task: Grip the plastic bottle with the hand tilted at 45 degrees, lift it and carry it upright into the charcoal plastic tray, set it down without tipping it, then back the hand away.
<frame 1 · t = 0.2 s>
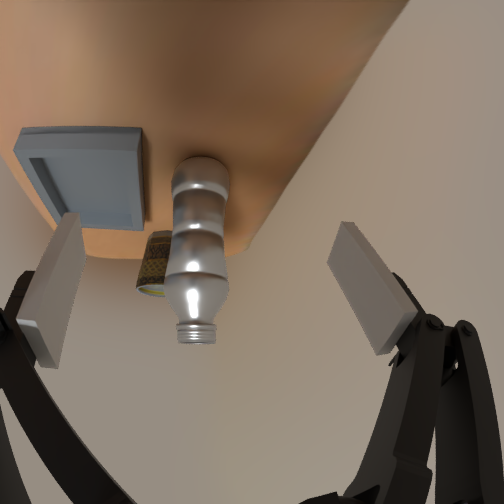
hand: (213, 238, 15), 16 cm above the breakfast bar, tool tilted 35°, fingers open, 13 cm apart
ceramic cup: (174, 235, 57), on the breakfast bar
tray: (91, 176, 37), on the breakfast bar
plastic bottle: (201, 164, 37), on the breakfast bar
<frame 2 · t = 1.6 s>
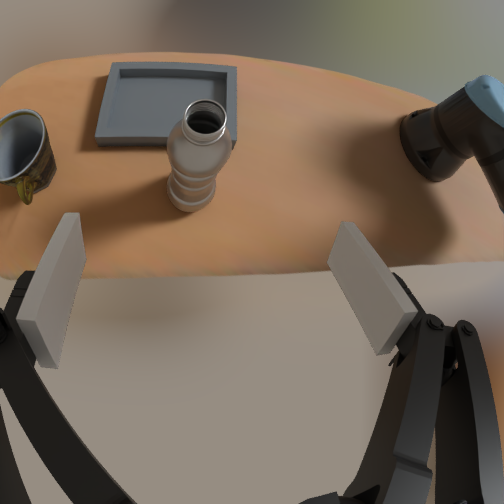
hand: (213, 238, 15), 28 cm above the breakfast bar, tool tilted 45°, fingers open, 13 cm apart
ceramic cup: (40, 180, 39), on the breakfast bar
tray: (168, 107, 45), on the breakfast bar
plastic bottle: (190, 192, 44), on the breakfast bar
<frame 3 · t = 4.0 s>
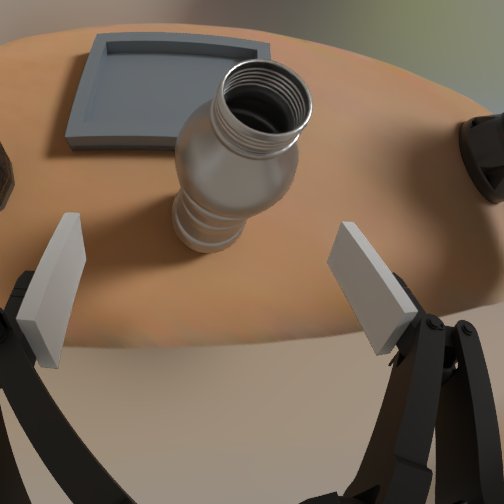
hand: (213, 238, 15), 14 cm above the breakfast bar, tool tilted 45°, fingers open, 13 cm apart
tray: (174, 94, 31), on the breakfast bar
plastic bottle: (205, 221, 30), on the breakfast bar
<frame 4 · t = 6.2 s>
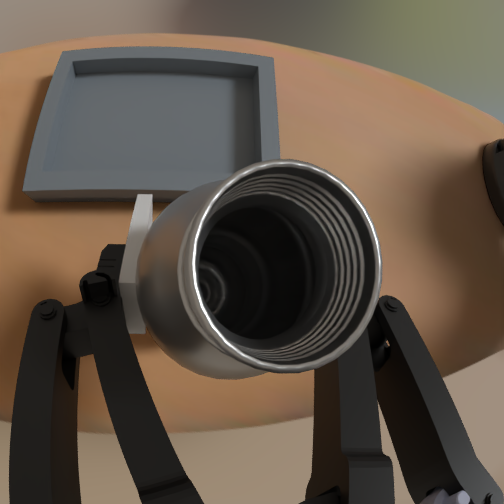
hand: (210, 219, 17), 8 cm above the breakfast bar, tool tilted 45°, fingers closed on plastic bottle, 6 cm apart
tray: (155, 125, 25), on the breakfast bar
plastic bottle: (197, 292, 25), on the breakfast bar, touching gripper
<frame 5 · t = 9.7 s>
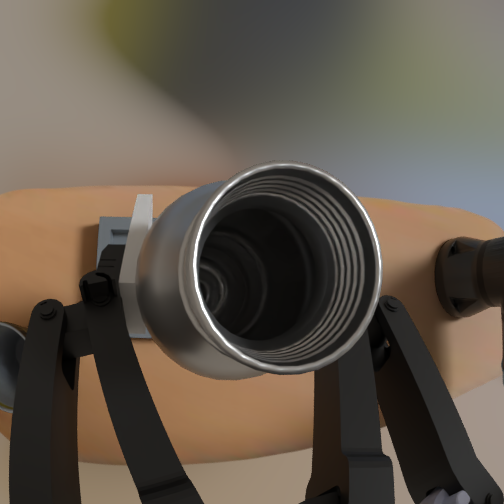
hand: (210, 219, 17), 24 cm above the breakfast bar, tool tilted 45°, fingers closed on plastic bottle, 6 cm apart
ceramic cup: (41, 365, 33), on the breakfast bar
tray: (179, 279, 40), on the breakfast bar
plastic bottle: (196, 292, 25), point 16 cm above the breakfast bar, touching gripper
when the fingers open (11 cm above the breakfast bar, at t = 13.4 s): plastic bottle drops 1 cm, resting on tray.
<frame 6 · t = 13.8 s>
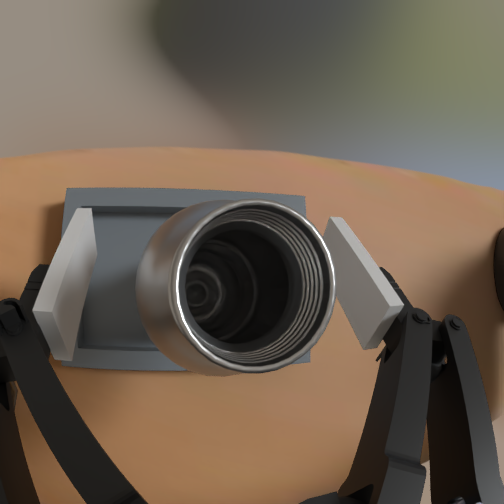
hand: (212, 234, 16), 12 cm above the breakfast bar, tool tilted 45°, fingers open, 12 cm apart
tray: (183, 280, 27), on the breakfast bar
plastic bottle: (195, 293, 26), point 1 cm above the breakfast bar, touching tray
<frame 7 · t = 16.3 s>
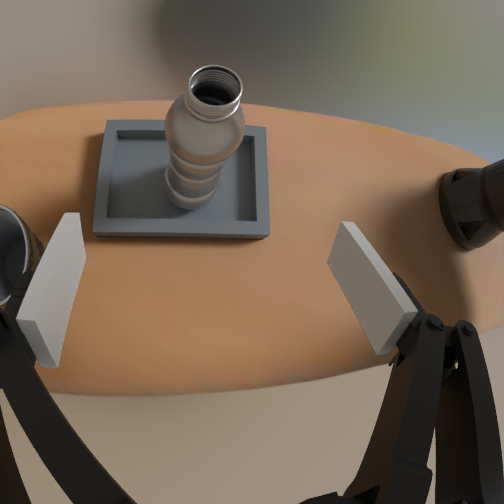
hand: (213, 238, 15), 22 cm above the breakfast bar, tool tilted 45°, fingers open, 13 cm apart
ceramic cup: (31, 277, 32), on the breakfast bar
tray: (182, 181, 38), on the breakfast bar
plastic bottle: (190, 187, 38), point 1 cm above the breakfast bar, touching tray
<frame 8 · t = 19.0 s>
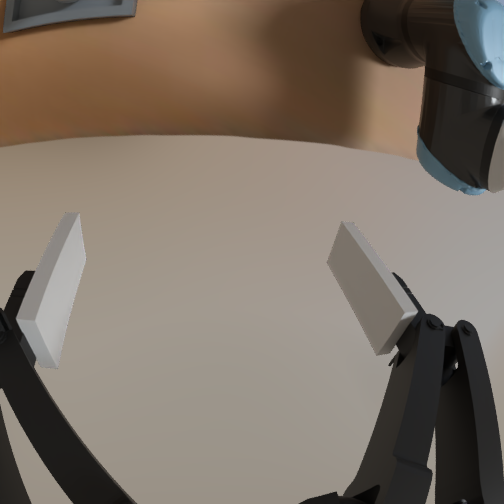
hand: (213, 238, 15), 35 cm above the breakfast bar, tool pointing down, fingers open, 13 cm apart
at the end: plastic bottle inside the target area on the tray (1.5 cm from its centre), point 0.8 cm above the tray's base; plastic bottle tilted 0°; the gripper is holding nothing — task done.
